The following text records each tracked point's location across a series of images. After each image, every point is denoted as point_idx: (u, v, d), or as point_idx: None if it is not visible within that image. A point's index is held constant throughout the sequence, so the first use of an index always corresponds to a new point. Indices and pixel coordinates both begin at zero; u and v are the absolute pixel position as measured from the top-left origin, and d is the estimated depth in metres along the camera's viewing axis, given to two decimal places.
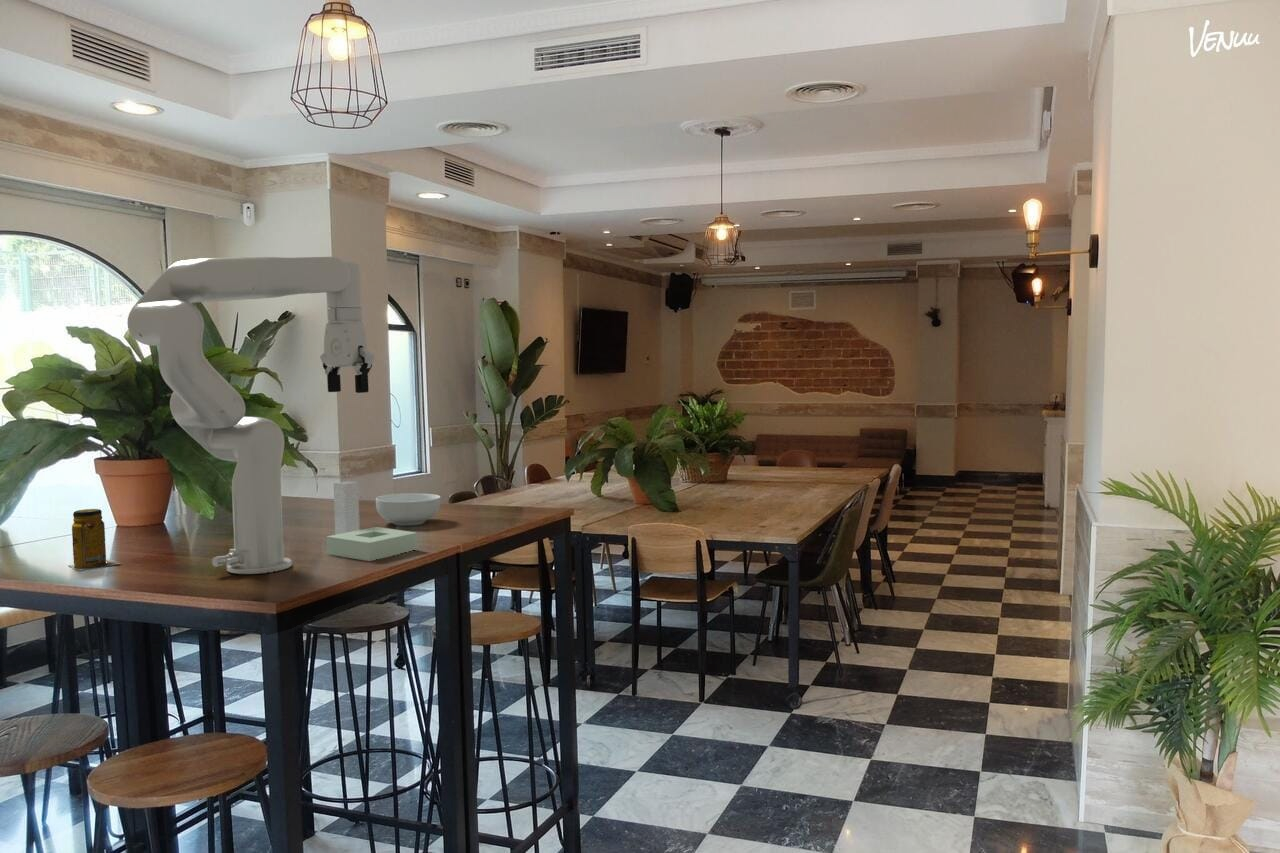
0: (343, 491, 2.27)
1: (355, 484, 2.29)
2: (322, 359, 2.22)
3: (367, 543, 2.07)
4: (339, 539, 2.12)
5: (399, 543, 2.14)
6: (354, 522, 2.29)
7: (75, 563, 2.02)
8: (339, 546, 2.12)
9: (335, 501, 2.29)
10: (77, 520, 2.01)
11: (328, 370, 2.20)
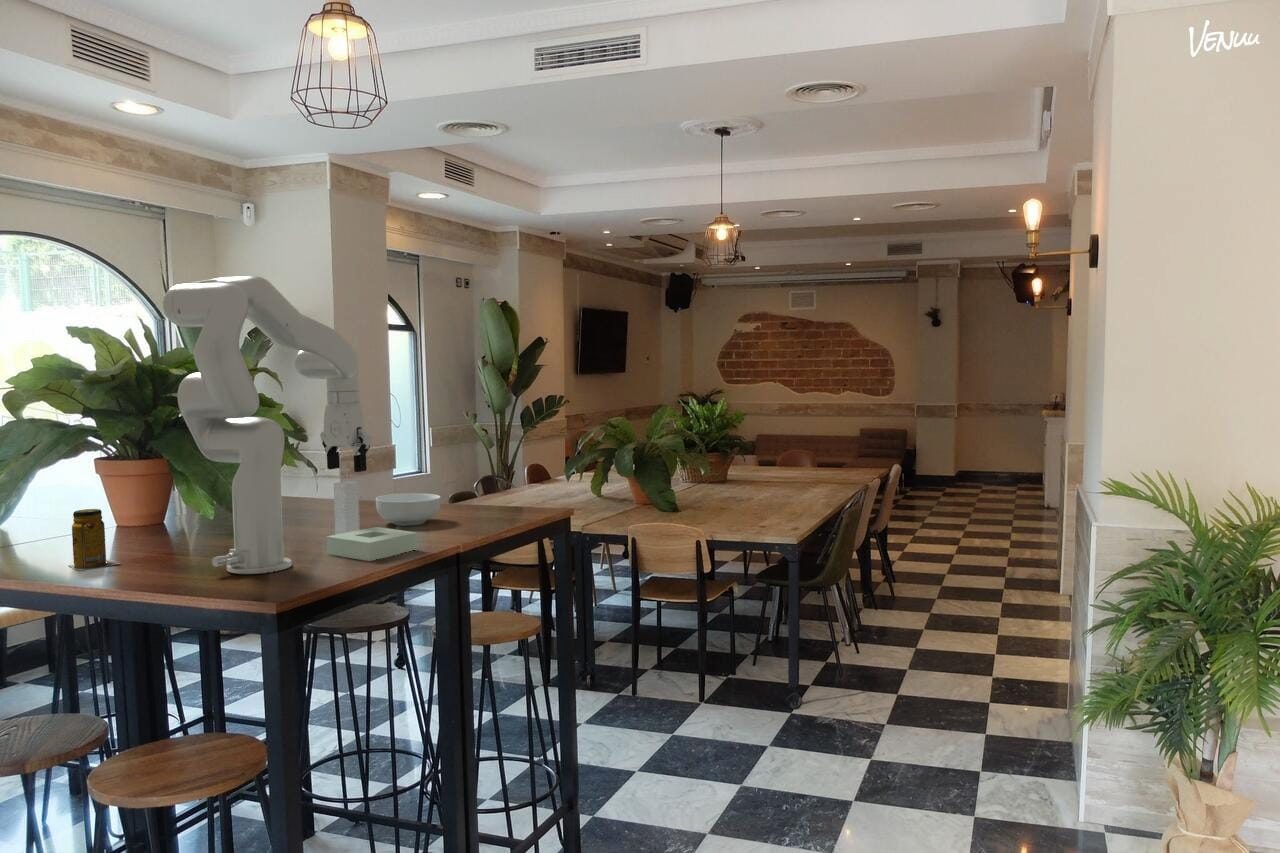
0: (343, 491, 2.27)
1: (355, 484, 2.29)
2: (322, 437, 2.33)
3: (367, 543, 2.07)
4: (339, 539, 2.12)
5: (399, 543, 2.14)
6: (354, 522, 2.29)
7: (75, 563, 2.02)
8: (339, 546, 2.12)
9: (335, 501, 2.29)
10: (77, 520, 2.01)
11: (327, 448, 2.31)
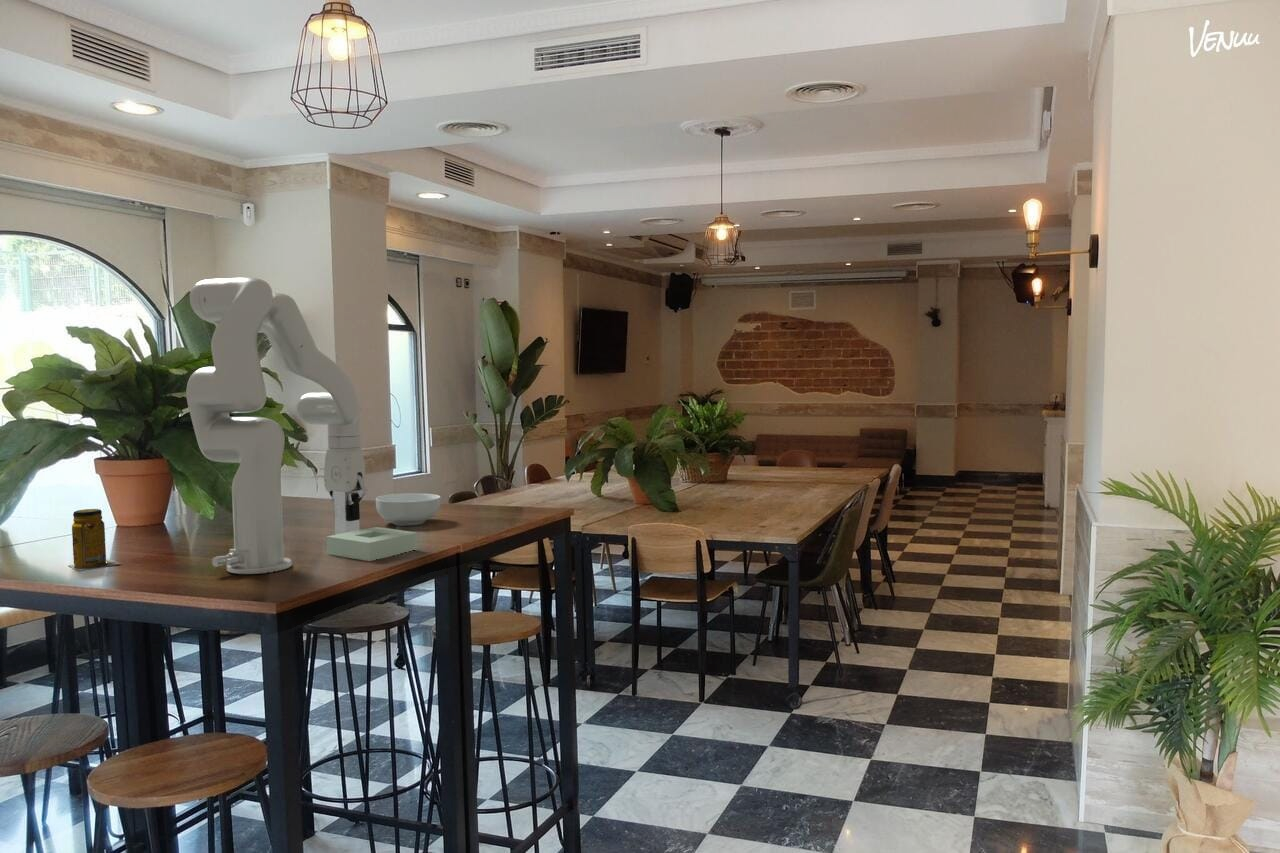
0: None
1: None
2: (327, 489, 2.32)
3: (367, 543, 2.07)
4: (339, 539, 2.12)
5: (399, 543, 2.14)
6: (354, 522, 2.29)
7: (75, 563, 2.02)
8: (339, 546, 2.12)
9: (335, 500, 2.29)
10: (77, 520, 2.01)
11: None
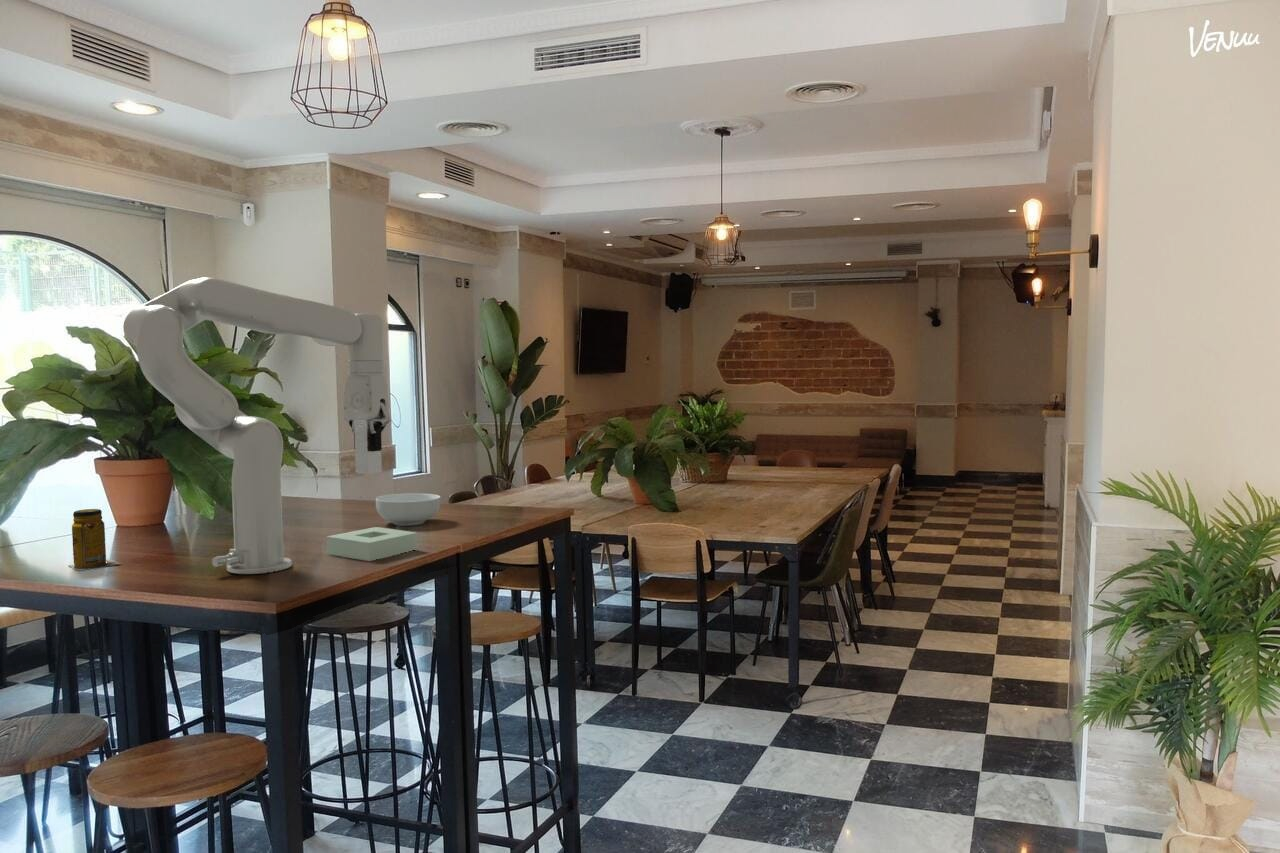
0: None
1: None
2: (347, 419, 2.18)
3: (367, 543, 2.07)
4: (339, 539, 2.12)
5: (399, 543, 2.14)
6: (376, 453, 2.15)
7: (75, 563, 2.02)
8: (339, 546, 2.12)
9: (356, 430, 2.14)
10: (77, 520, 2.01)
11: (354, 427, 2.15)
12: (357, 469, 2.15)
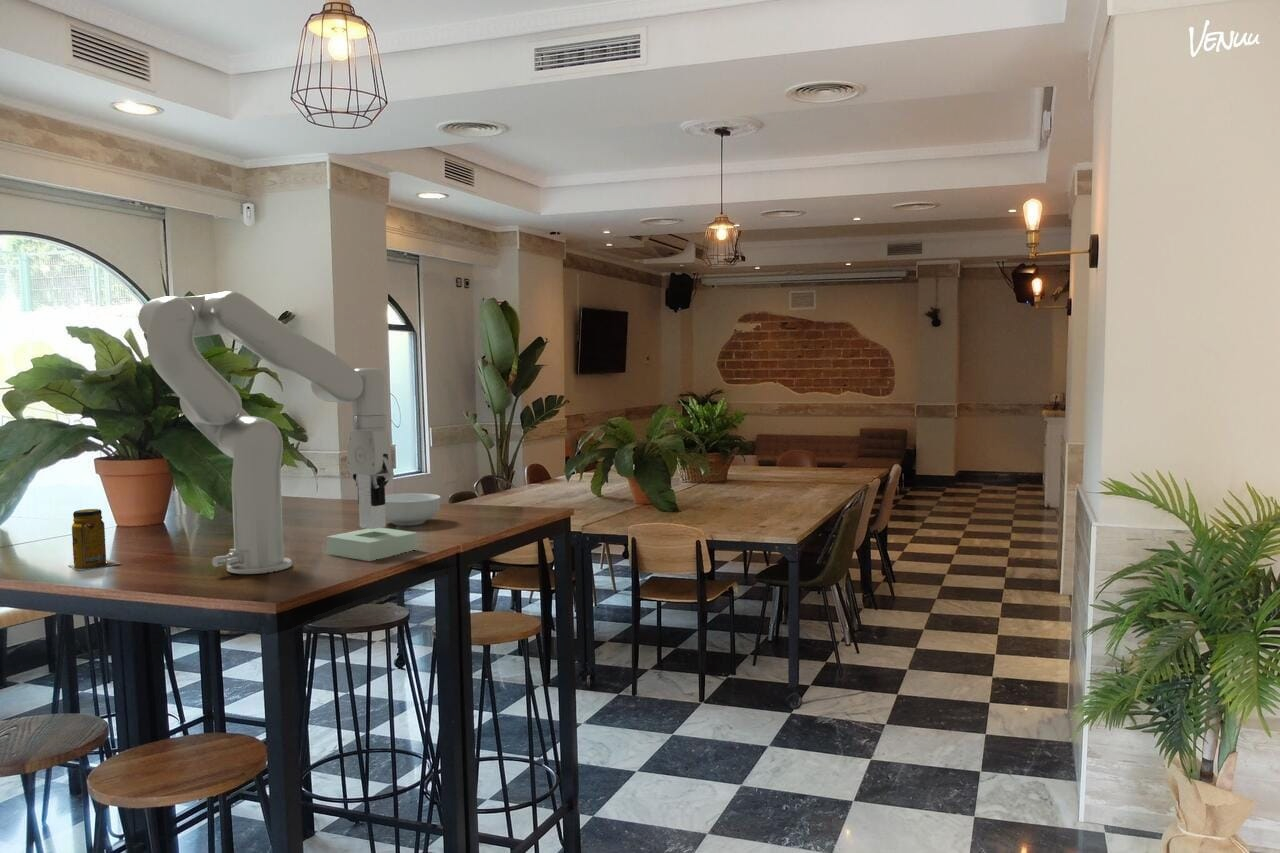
0: None
1: None
2: (351, 472, 2.18)
3: (367, 543, 2.07)
4: (339, 539, 2.12)
5: (399, 543, 2.14)
6: (379, 507, 2.15)
7: (75, 563, 2.02)
8: (339, 546, 2.12)
9: (359, 484, 2.15)
10: (77, 520, 2.01)
11: None
12: (361, 523, 2.15)
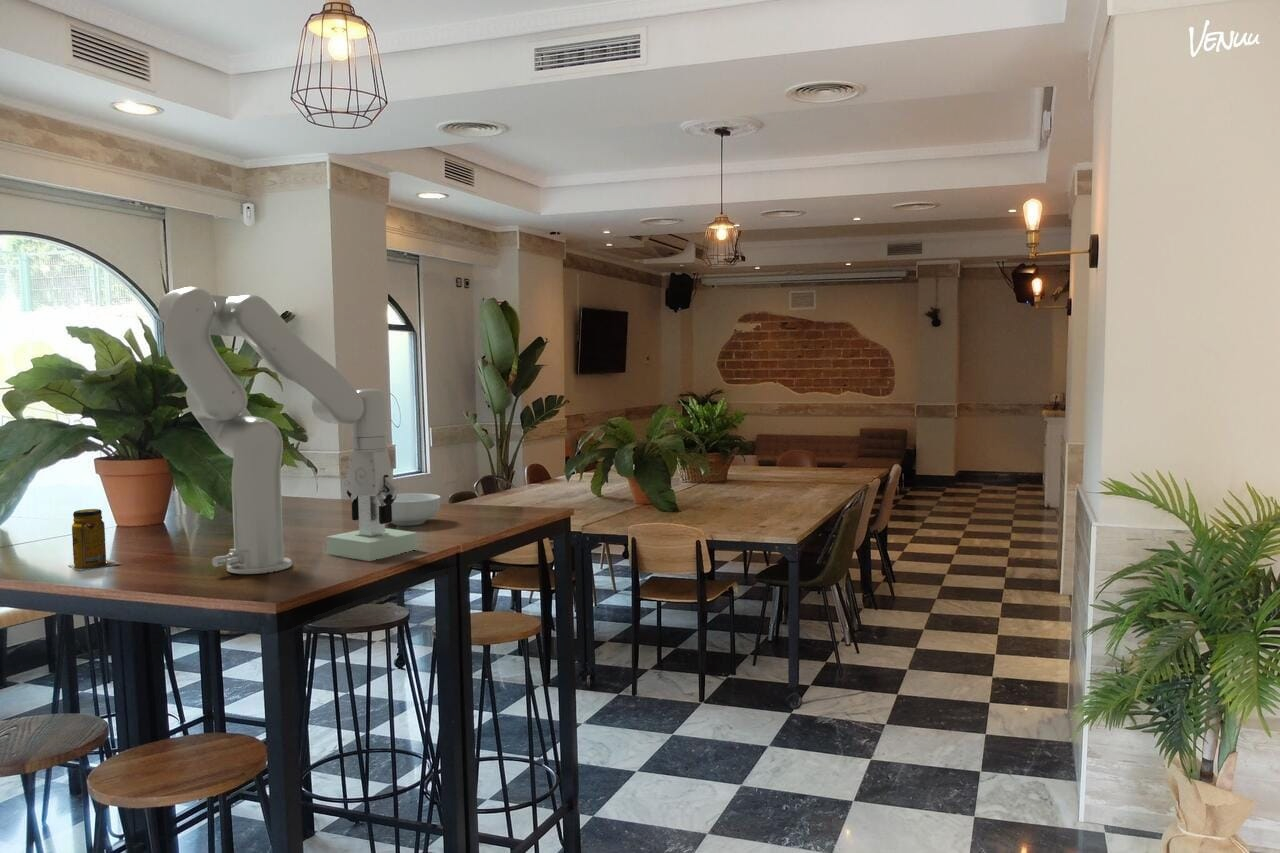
0: (369, 499, 2.13)
1: None
2: (346, 486, 2.19)
3: (367, 543, 2.07)
4: (339, 539, 2.12)
5: (399, 543, 2.14)
6: (380, 532, 2.15)
7: (75, 563, 2.02)
8: (339, 546, 2.12)
9: (359, 509, 2.15)
10: (77, 520, 2.01)
11: (352, 498, 2.17)
12: None
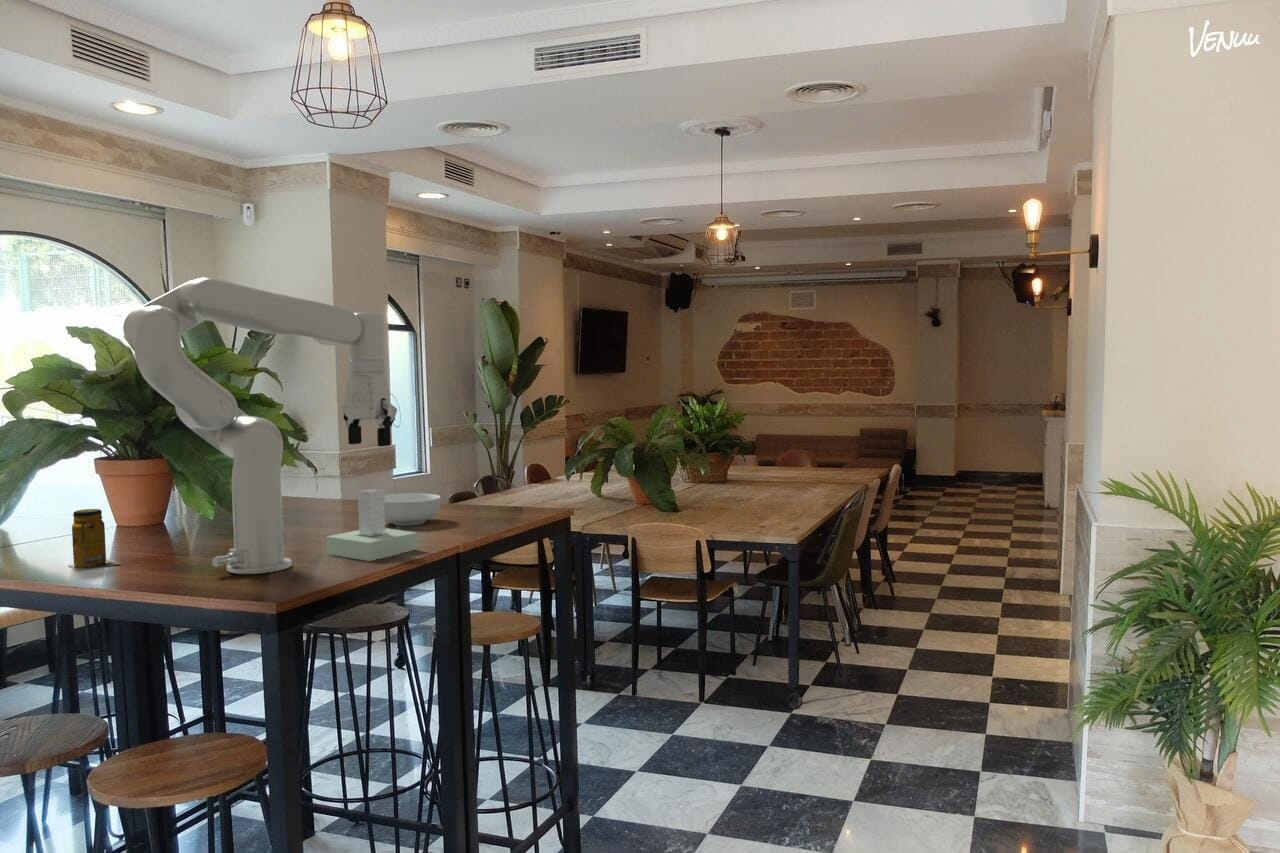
0: (369, 499, 2.13)
1: (381, 492, 2.15)
2: (343, 410, 2.18)
3: (367, 543, 2.07)
4: (339, 539, 2.12)
5: (399, 543, 2.14)
6: (380, 532, 2.15)
7: (75, 563, 2.02)
8: (339, 546, 2.12)
9: (360, 509, 2.15)
10: (77, 520, 2.01)
11: (349, 422, 2.16)
12: None
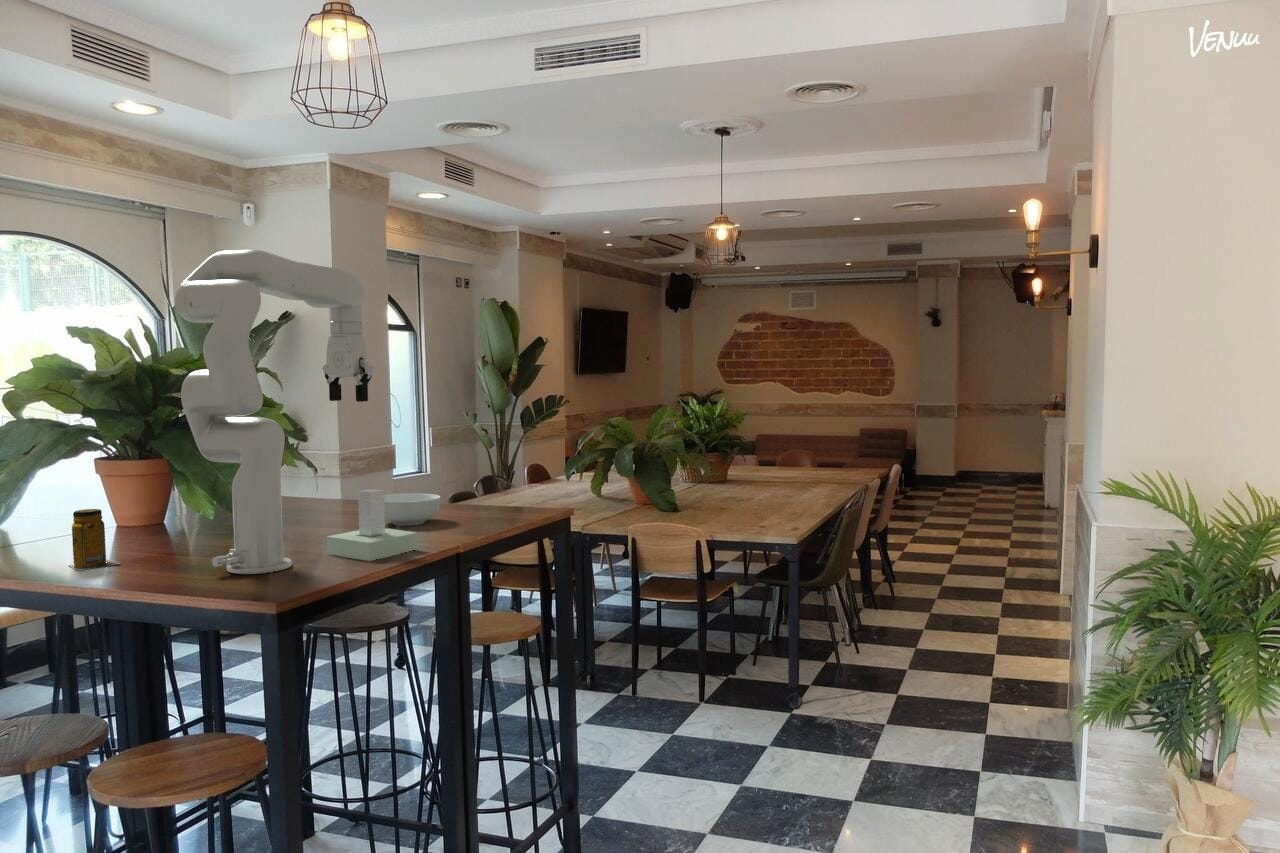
0: (369, 499, 2.13)
1: (381, 492, 2.15)
2: (324, 370, 2.36)
3: (367, 543, 2.07)
4: (339, 539, 2.12)
5: (399, 543, 2.14)
6: (380, 532, 2.15)
7: (75, 563, 2.02)
8: (339, 546, 2.12)
9: (359, 509, 2.15)
10: (77, 520, 2.01)
11: (330, 380, 2.34)
12: None
